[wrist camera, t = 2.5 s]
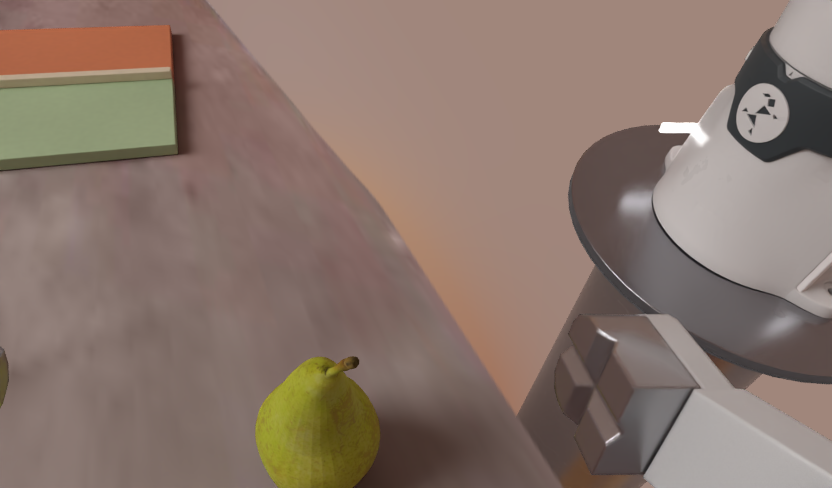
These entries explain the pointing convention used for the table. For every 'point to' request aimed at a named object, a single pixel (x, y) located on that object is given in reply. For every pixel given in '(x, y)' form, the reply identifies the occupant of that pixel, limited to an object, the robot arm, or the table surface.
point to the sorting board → (86, 95)
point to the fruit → (318, 428)
